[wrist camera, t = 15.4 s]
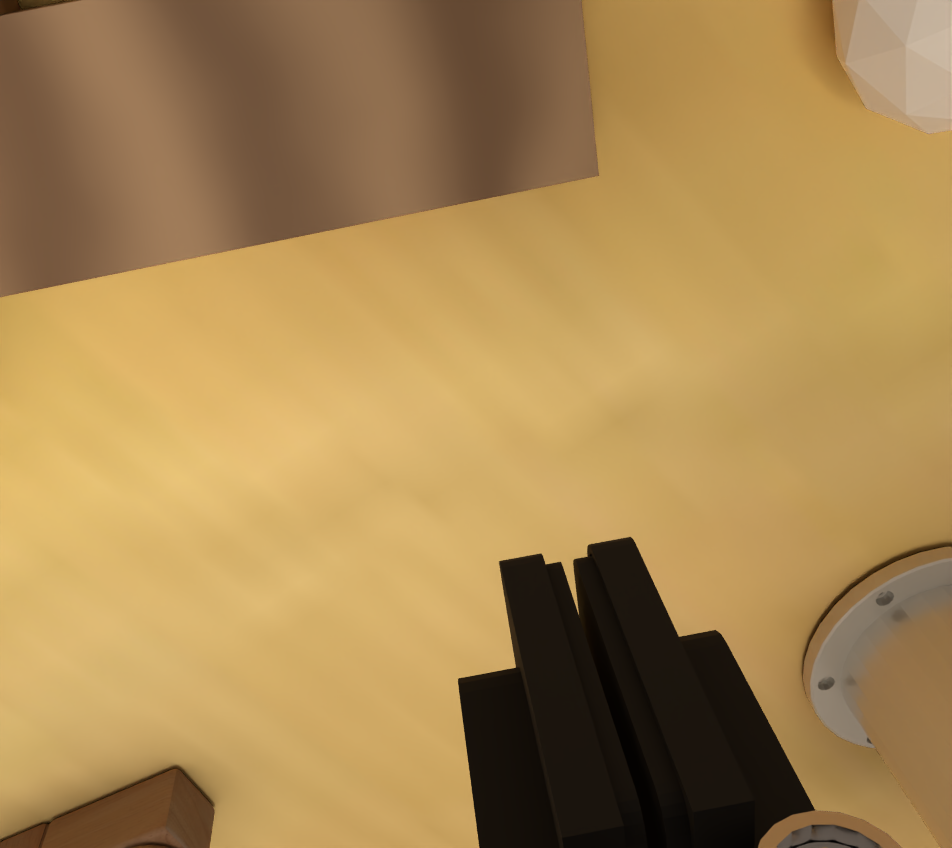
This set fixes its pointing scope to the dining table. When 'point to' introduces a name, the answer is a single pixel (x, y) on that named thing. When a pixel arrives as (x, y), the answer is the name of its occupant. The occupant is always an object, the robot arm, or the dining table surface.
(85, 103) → the board
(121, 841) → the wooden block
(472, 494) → the dining table surface
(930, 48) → the geometric ball
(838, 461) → the dining table surface
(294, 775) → the dining table surface
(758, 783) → the robot arm
